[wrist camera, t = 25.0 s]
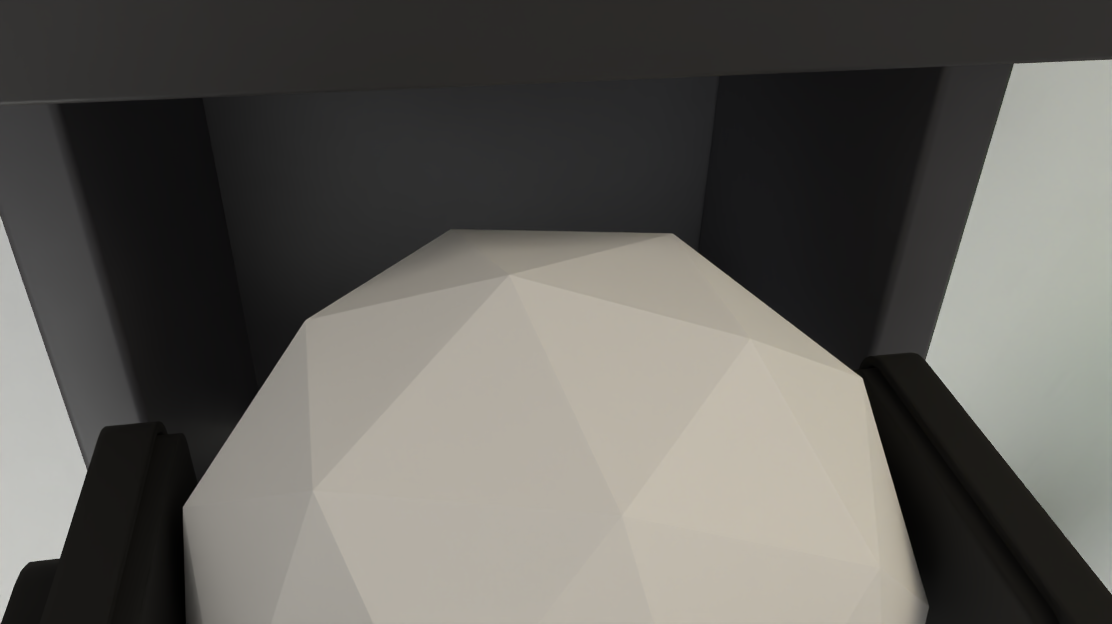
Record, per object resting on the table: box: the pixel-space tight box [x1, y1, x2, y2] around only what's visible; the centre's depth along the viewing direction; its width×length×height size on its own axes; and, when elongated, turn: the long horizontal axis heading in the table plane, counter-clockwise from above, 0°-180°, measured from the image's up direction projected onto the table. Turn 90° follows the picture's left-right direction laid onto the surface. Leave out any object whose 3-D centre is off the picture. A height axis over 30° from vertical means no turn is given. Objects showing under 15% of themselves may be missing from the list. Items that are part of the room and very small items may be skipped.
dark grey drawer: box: [0, 64, 1013, 483], centre depth 16 cm, size 21×11×8 cm, turn 179°
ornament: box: [183, 229, 929, 624], centre depth 10 cm, size 7×7×8 cm
